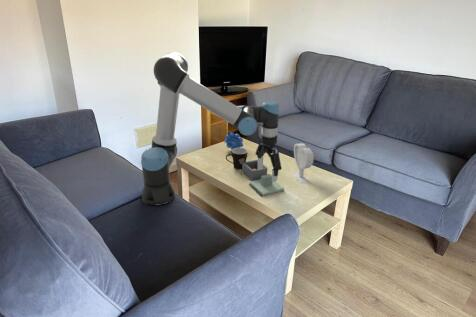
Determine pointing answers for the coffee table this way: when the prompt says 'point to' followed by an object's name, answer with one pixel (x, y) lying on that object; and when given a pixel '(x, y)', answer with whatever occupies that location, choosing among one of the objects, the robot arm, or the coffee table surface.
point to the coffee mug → (238, 157)
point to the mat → (259, 192)
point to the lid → (266, 185)
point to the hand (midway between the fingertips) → (267, 175)
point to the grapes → (233, 141)
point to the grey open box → (253, 174)
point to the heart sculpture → (302, 161)
